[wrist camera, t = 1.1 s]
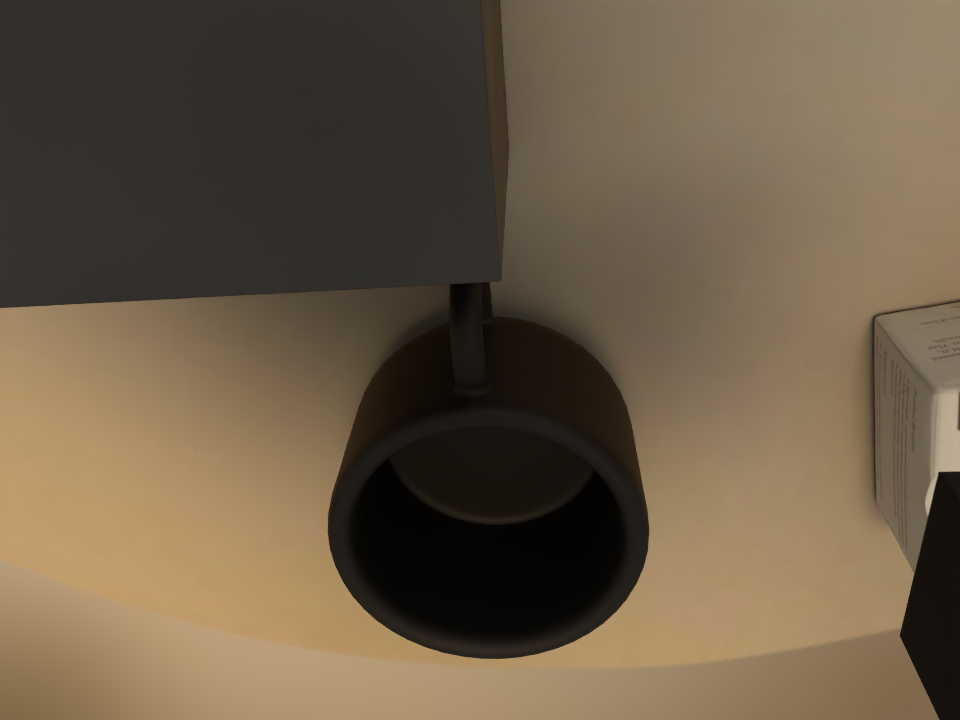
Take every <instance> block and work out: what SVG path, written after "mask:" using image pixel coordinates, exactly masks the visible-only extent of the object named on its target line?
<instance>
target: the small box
mask: <svg viewBox="0 0 960 720" xmlns="http://www.w3.org/2000/svg"><path fill="white" fill-rule="evenodd" d="M875 451H876V502H877V505H878V506H879V508H880V510H881V512H882V514H883V515H884V517H885V519H886V521H887V523H888V525H889V526H890V528H891V530H892V532H893V534H894V536H895V538H896V540H897V542H898V544H899V545H900V547H901V549H902V551H903V553H904V555H905V557H906V559H907V560H908V562H909V564H910V566H911V568H912V570H913V572H914V574H915V569H916V565H917V561H918V557H919V553H920V548H921V544H922V540H923V536H924V531H925V527H926V523H927V519H928V515H929V510H930V506H931V502H932V498H933V493H934V489H935V485H936V481H937V477H938V472H950V471H960V302H957V303H950V304H944V305H938V306H933V307H927V308H920V309H913V310H907V311H902V312H896V313H891V314H885V315H880V316H877V317H876V318H875Z"/></svg>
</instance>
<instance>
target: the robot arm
mask: <svg viewBox="0 0 960 720" xmlns="http://www.w3.org/2000/svg"><path fill="white" fill-rule="evenodd" d="M900 637H901V639H902V641H903V644H904V645H905V648H906V650H907V652H908V654H909V656H910V658H911V660H912V663H913V665H914V667H915V669H916V671H917V673H918V675H919V677H920V679H921V682H922V684H923V686H924V688H925V690H926V692H927V694H928V696H929V698H930V700H931V703H932V705H933V707H934V709H935V711H936V713H937V715H938V717H939V719H940V720H960V471H950V472H938V477H937V481H936V485H935V489H934V493H933V498H932V502H931V506H930V510H929V515H928V519H927V523H926V527H925V531H924V536H923V540H922V544H921V548H920V553H919V557H918V561H917V565H916V569H915V574H914V578H913V582H912V586H911V591H910V595H909V599H908V603H907V608H906V612H905V616H904V620H903V624H902V629H901V633H900Z"/></svg>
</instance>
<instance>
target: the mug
mask: <svg viewBox="0 0 960 720" xmlns="http://www.w3.org/2000/svg"><path fill="white" fill-rule="evenodd" d="M328 537H329V545H330V550H331V553H332V557H333V560H334V563H335V566H336V568H337V570H338V572H339V574H340V576H341V578H342V580H343V582H344V584H345V585H346V587H347V588H348V590H349V591H350V593H351V594H352V596H353V597H354V598H355V599H356V600H357V602H358V603H359V604H360V605H361V606H362V607H363V608H364V609H365V610H366V611H367V612H368V613H369V614H370V615H371V616H372V617H374V618H375V619H376V620H377V621H378V622H380V623H381V624H383V625H384V626H385V627H387V628H388V629H390V630H391V631H393V632H395V633H396V634H398V635H400V636H402V637H404V638H406V639H407V640H410V641H412V642H414V643H417V644H419V645H422V646H424V647H427V648H430V649H433V650H437V651H440V652H443V653H448V654H453V655H458V656H463V657H472V658H481V659H504V658H516V657H523V656H529V655H534V654H539V653H543V652H546V651H550V650H553V649H556V648H559V647H561V646H564V645H566V644H569V643H571V642H574V641H575V640H577V639H579V638H581V637H583V636H585V635H587V634H589V633H590V632H592V631H593V630H594V629H596V628H597V627H599V626H600V625H602V624H603V623H604V622H605V621H606V620H608V619H609V618H610V617H611V616H612V615H613V614H614V613H615V612H616V611H617V610H618V609H619V608H620V606H621V605H622V604H623V603H624V602H625V600H626V599H627V598H628V596H629V595H630V593H631V591H632V590H633V588H634V587H635V585H636V583H637V581H638V579H639V577H640V574H641V572H642V570H643V567H644V564H645V560H646V556H647V552H648V540H649V523H648V512H647V506H646V500H645V496H644V491H643V486H642V480H641V474H640V468H639V463H638V457H637V452H636V447H635V441H634V435H633V429H632V425H631V421H630V417H629V414H628V410H627V407H626V404H625V402H624V400H623V397H622V395H621V393H620V391H619V389H618V388H617V386H616V384H615V383H614V381H613V380H612V378H611V376H610V375H609V373H608V372H607V371H606V370H605V369H604V368H603V366H602V365H601V364H600V363H599V362H598V361H597V360H596V359H595V358H594V357H593V356H592V355H591V354H590V353H588V352H587V351H586V350H585V349H584V348H583V347H581V346H580V345H579V344H577V343H576V342H574V341H573V340H571V339H570V338H568V337H566V336H564V335H562V334H560V333H558V332H556V331H554V330H552V329H550V328H548V327H545V326H542V325H539V324H536V323H533V322H529V321H525V320H521V319H515V318H507V317H493V313H492V301H491V292H490V283H489V282H482V283H463V284H450V288H449V323H446V324H444V325H441V326H439V327H436V328H434V329H431V330H429V331H427V332H425V333H423V334H421V335H419V336H418V337H416V338H414V339H412V340H411V341H410V342H408V343H407V344H405V345H404V346H403V347H401V348H400V349H399V350H397V351H396V352H395V353H394V354H393V355H392V356H391V357H390V358H389V359H388V360H387V361H386V362H385V363H384V364H383V365H382V367H381V368H380V369H379V370H378V372H377V373H376V374H375V376H374V377H373V378H372V380H371V382H370V383H369V385H368V387H367V389H366V391H365V392H364V395H363V397H362V400H361V403H360V405H359V408H358V411H357V414H356V417H355V420H354V424H353V427H352V431H351V434H350V437H349V440H348V444H347V447H346V450H345V453H344V457H343V460H342V464H341V467H340V470H339V474H338V477H337V480H336V483H335V486H334V489H333V493H332V497H331V502H330V507H329V513H328Z"/></svg>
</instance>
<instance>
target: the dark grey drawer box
mask: <svg viewBox="0 0 960 720" xmlns="http://www.w3.org/2000/svg"><path fill="white" fill-rule="evenodd" d="M508 158H509V139H508V123H507V108H506V92H505V76H504V60H503V44H502V28H501V13H500V0H0V308H9V307H28V306H47V305H66V304H85V303H104V302H122V301H141V300H160V299H179V298H198V297H217V296H236V295H255V294H274V293H293V292H312V291H331V290H349V289H368V288H387V287H406V286H425V285H444V284H463V283H482V282H499V281H501V276H502V258H503V242H504V225H505V208H506V191H507V174H508Z"/></svg>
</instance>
